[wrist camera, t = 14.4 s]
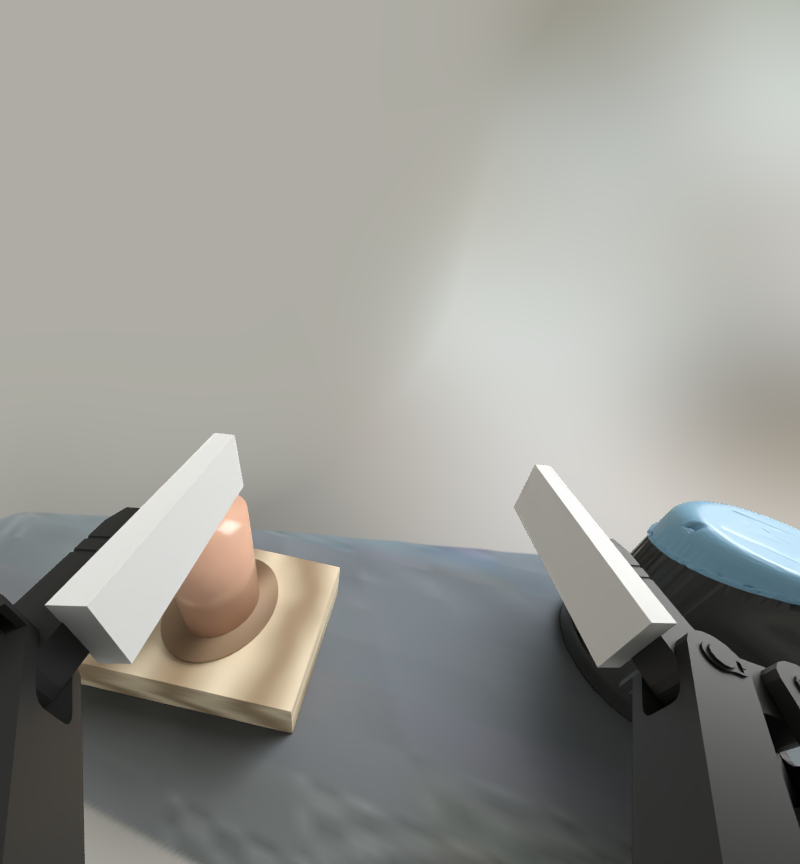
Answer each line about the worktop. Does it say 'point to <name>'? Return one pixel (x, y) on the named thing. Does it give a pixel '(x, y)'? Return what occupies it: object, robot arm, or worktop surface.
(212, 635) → the slanted peach cylinder
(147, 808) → the worktop surface
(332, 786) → the worktop surface
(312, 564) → the plinth
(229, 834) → the worktop surface
